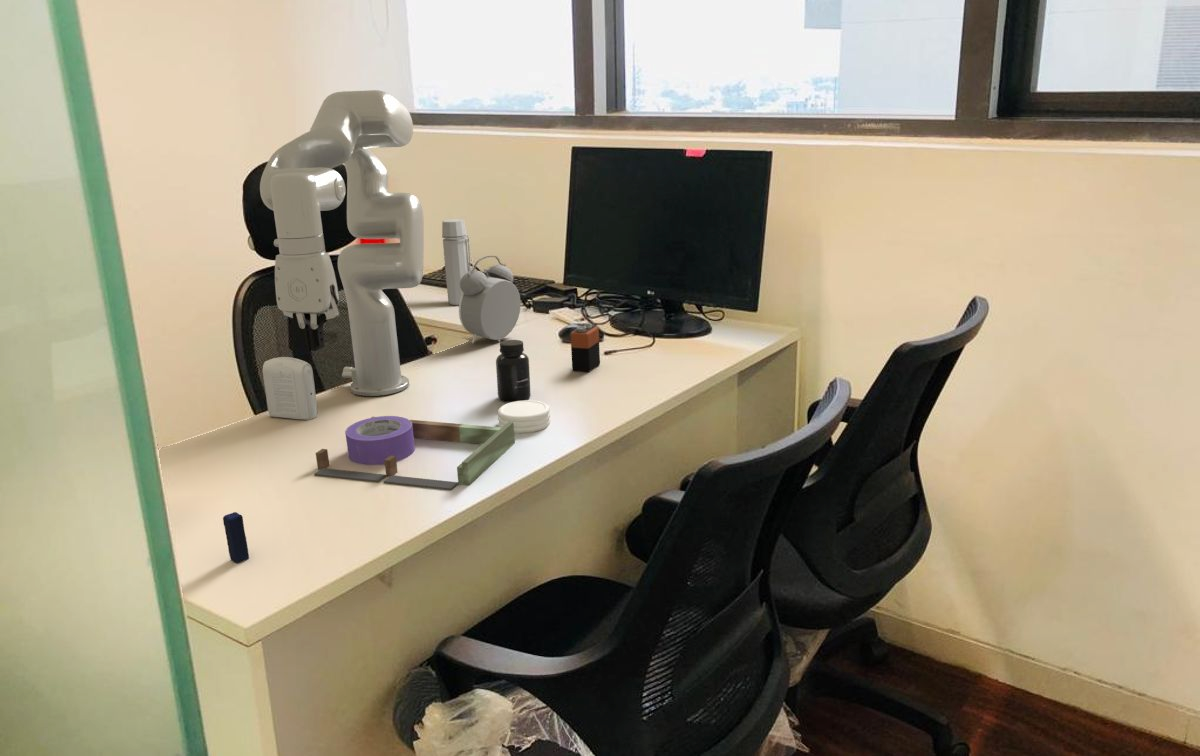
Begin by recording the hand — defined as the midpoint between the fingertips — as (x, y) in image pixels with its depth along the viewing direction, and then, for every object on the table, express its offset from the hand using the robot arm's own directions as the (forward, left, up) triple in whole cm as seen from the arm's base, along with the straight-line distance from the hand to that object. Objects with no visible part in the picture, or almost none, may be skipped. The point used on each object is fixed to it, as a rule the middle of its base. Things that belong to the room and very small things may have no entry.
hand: (315, 348), depth 164 cm
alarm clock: (0, +74, -19) cm, 76 cm away
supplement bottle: (+23, +33, -19) cm, 45 cm away
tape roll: (+11, 0, -19) cm, 22 cm away
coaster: (+31, +19, -19) cm, 41 cm away
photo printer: (-17, +13, -19) cm, 29 cm away
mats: (+18, -11, -19) cm, 28 cm away
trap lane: (+18, 0, -19) cm, 26 cm away
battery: (+31, +56, -19) cm, 67 cm away
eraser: (+12, -40, -19) cm, 46 cm away
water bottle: (-27, +111, -19) cm, 116 cm away
